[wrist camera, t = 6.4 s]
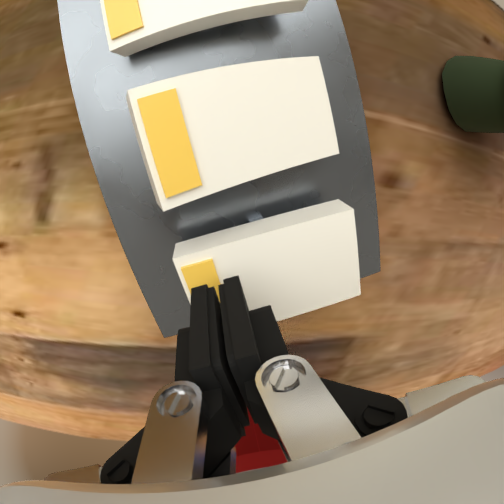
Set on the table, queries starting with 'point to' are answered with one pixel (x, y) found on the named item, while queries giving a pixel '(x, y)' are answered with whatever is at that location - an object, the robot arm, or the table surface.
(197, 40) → the console
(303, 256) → the rocker
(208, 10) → the rocker
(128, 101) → the rocker
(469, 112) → the character mug
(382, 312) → the table surface
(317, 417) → the robot arm
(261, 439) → the canned food
